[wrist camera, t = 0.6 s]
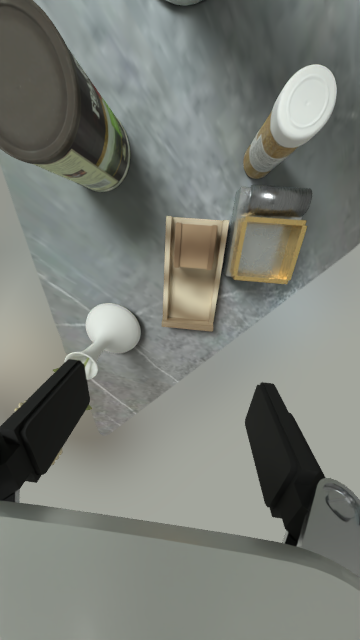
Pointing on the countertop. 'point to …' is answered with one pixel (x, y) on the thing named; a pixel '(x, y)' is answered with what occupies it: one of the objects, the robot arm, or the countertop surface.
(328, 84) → the sprinkles bottle
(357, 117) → the countertop surface
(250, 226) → the gold open box
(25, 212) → the countertop surface
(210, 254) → the tan cardboard box
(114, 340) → the flower in vase
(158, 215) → the countertop surface
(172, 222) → the tray
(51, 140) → the coffee can
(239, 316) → the countertop surface
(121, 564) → the robot arm
